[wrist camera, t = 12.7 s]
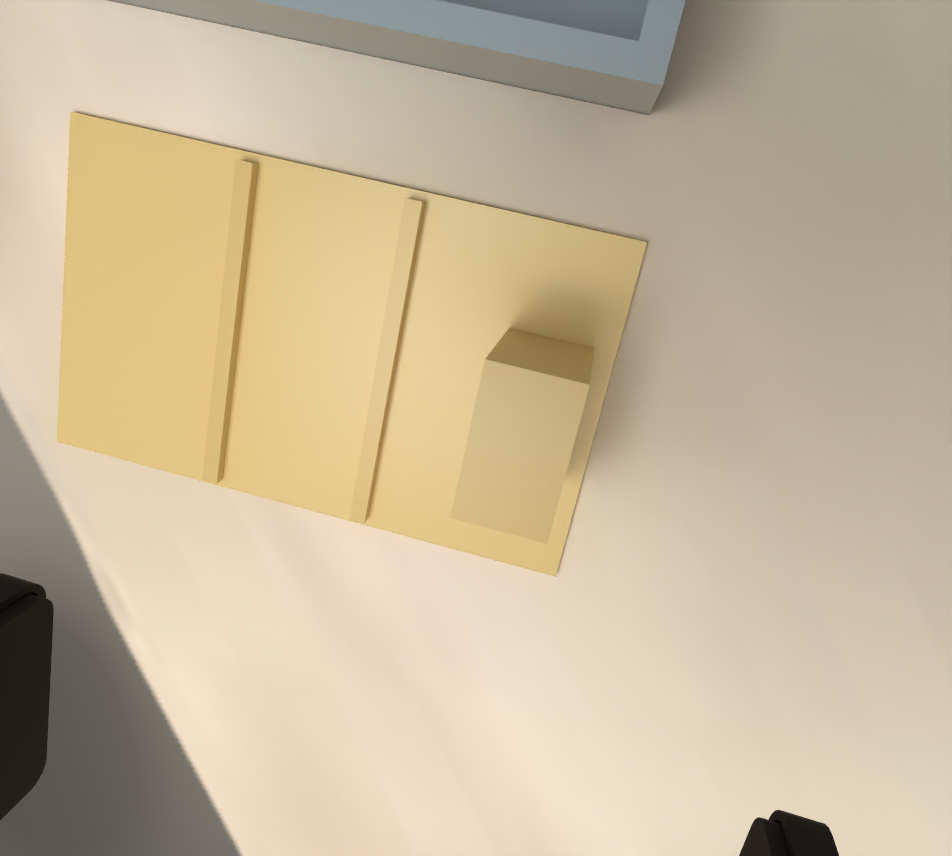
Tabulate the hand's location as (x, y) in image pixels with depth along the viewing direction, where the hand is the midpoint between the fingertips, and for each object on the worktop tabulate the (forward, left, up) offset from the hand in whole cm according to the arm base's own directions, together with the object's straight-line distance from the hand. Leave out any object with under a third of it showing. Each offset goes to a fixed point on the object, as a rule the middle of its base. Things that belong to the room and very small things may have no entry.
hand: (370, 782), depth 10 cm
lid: (0, +8, -20) cm, 21 cm away
